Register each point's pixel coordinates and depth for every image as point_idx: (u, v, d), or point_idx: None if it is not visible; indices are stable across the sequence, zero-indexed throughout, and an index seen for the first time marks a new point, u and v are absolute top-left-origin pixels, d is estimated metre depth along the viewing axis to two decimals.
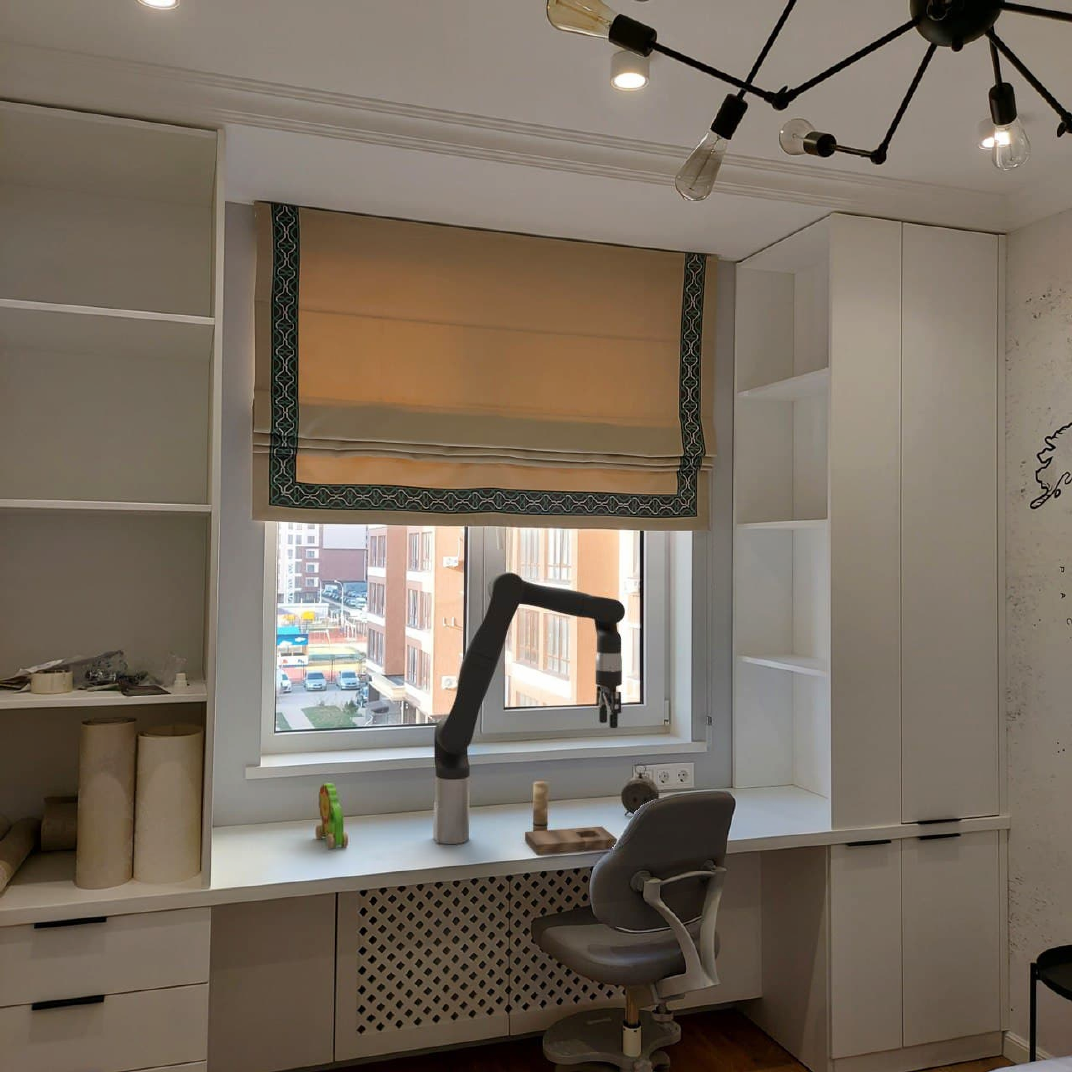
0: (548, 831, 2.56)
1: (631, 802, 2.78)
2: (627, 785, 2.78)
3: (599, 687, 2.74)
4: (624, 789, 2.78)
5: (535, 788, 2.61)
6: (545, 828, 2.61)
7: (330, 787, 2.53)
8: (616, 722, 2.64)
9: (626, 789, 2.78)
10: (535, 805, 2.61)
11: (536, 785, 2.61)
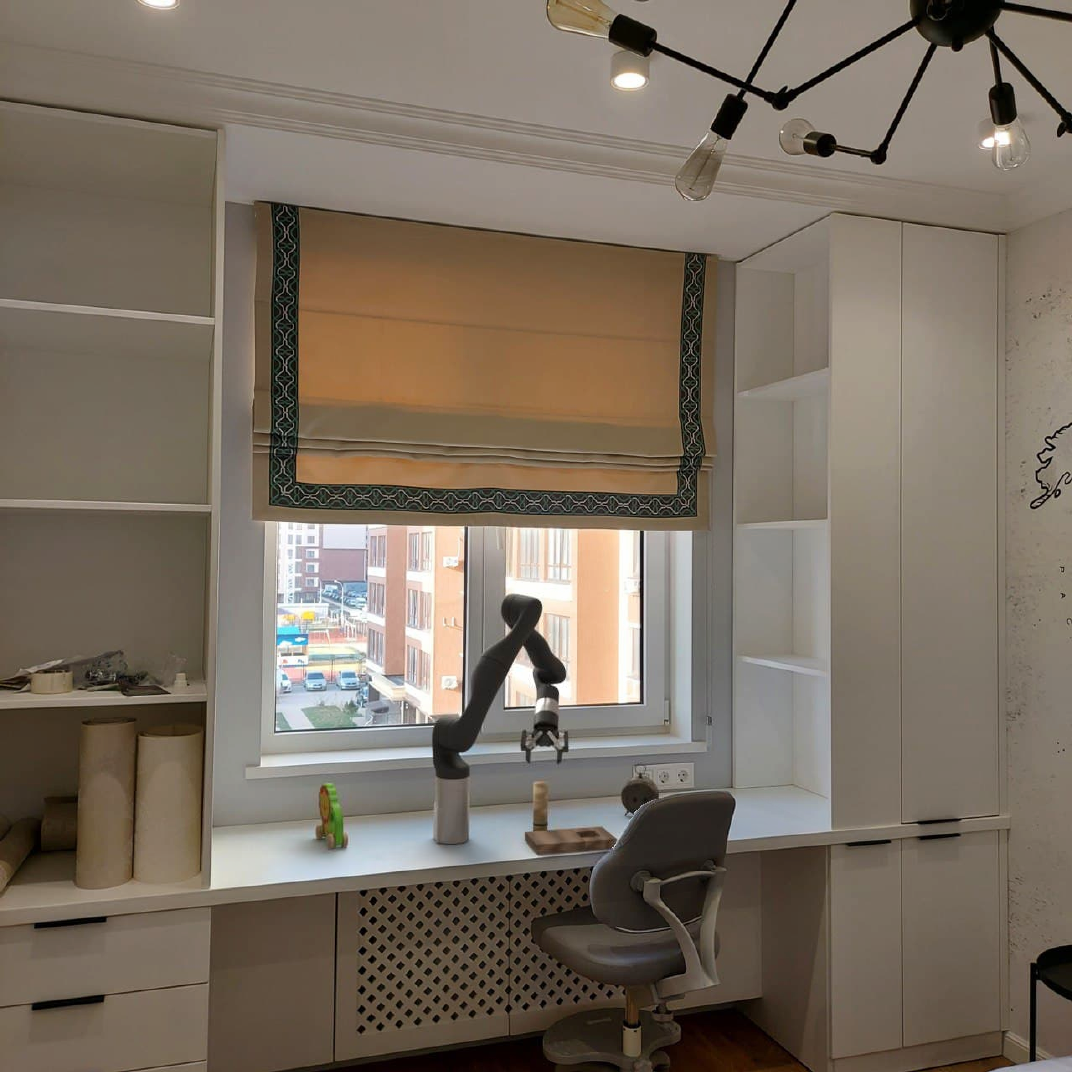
0: (548, 831, 2.56)
1: (631, 802, 2.78)
2: (627, 785, 2.78)
3: None
4: (624, 789, 2.78)
5: (535, 788, 2.61)
6: (545, 828, 2.61)
7: (330, 787, 2.53)
8: None
9: (626, 789, 2.78)
10: (535, 805, 2.61)
11: (536, 785, 2.61)
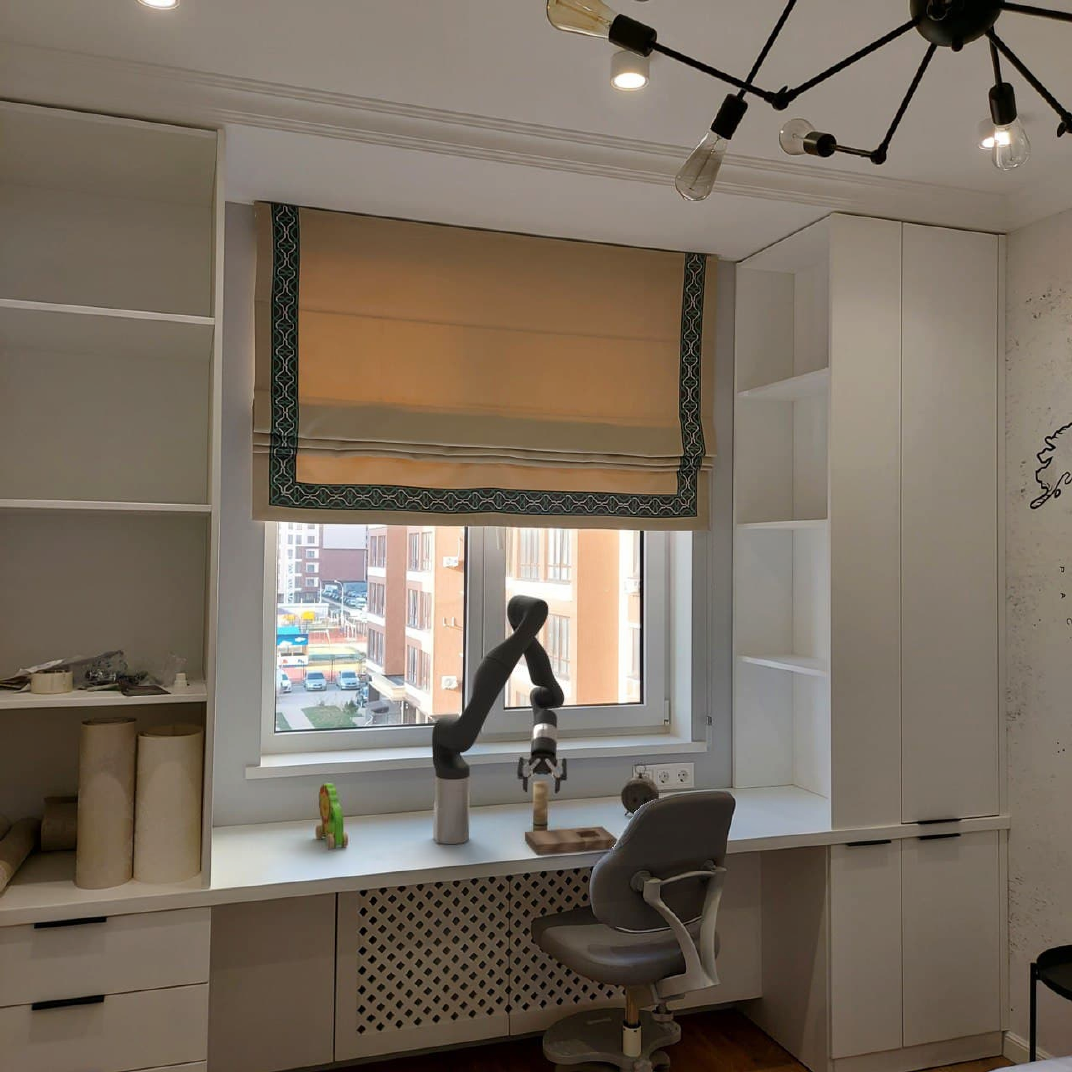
0: (548, 831, 2.56)
1: (631, 802, 2.78)
2: (627, 785, 2.78)
3: None
4: (624, 789, 2.78)
5: (535, 788, 2.61)
6: (545, 828, 2.61)
7: (330, 787, 2.53)
8: None
9: (626, 789, 2.78)
10: (535, 805, 2.61)
11: (536, 785, 2.61)
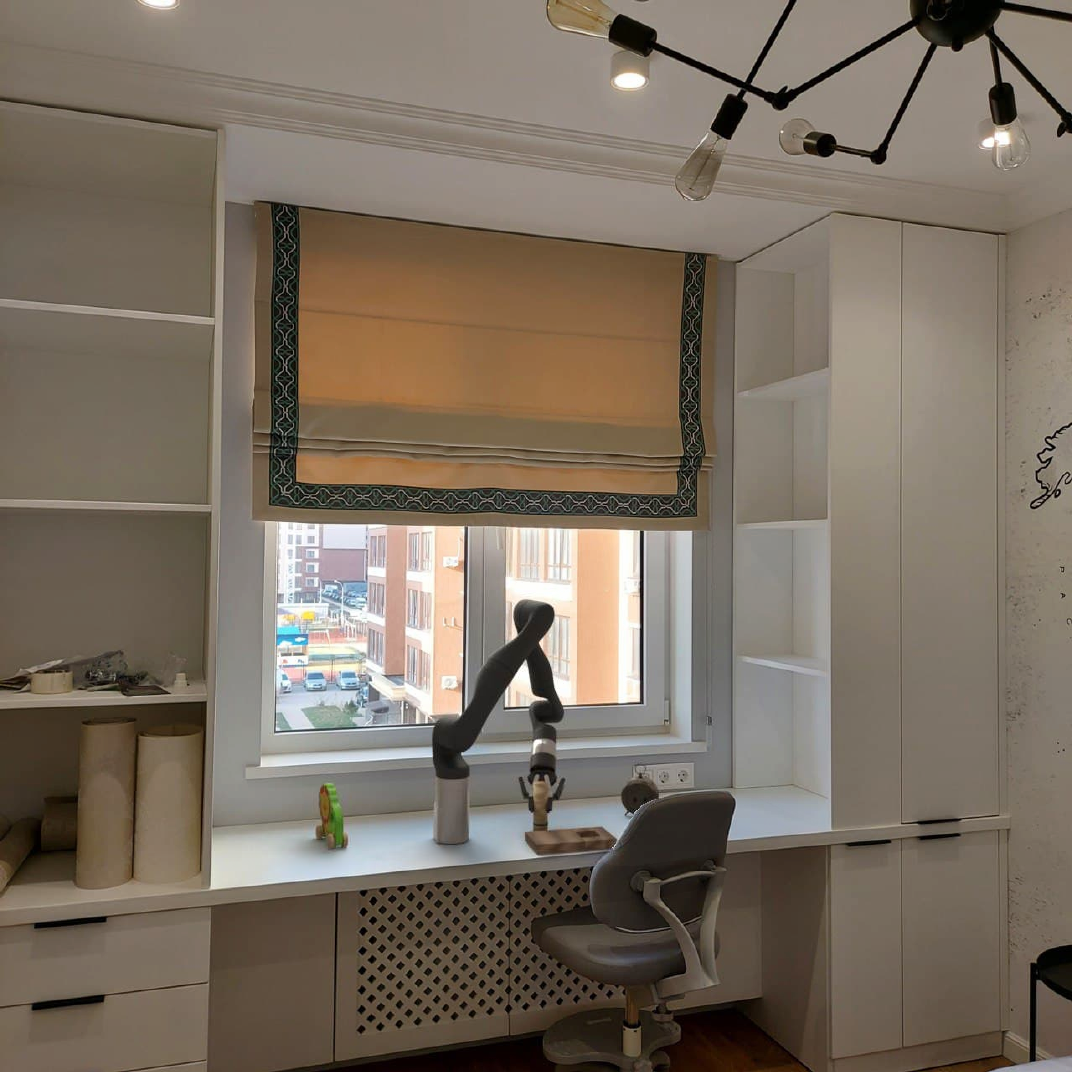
0: (548, 831, 2.56)
1: (631, 802, 2.78)
2: (627, 785, 2.78)
3: None
4: (624, 789, 2.78)
5: (535, 788, 2.61)
6: (545, 828, 2.61)
7: (330, 787, 2.53)
8: None
9: (626, 789, 2.78)
10: (535, 805, 2.61)
11: (536, 785, 2.61)
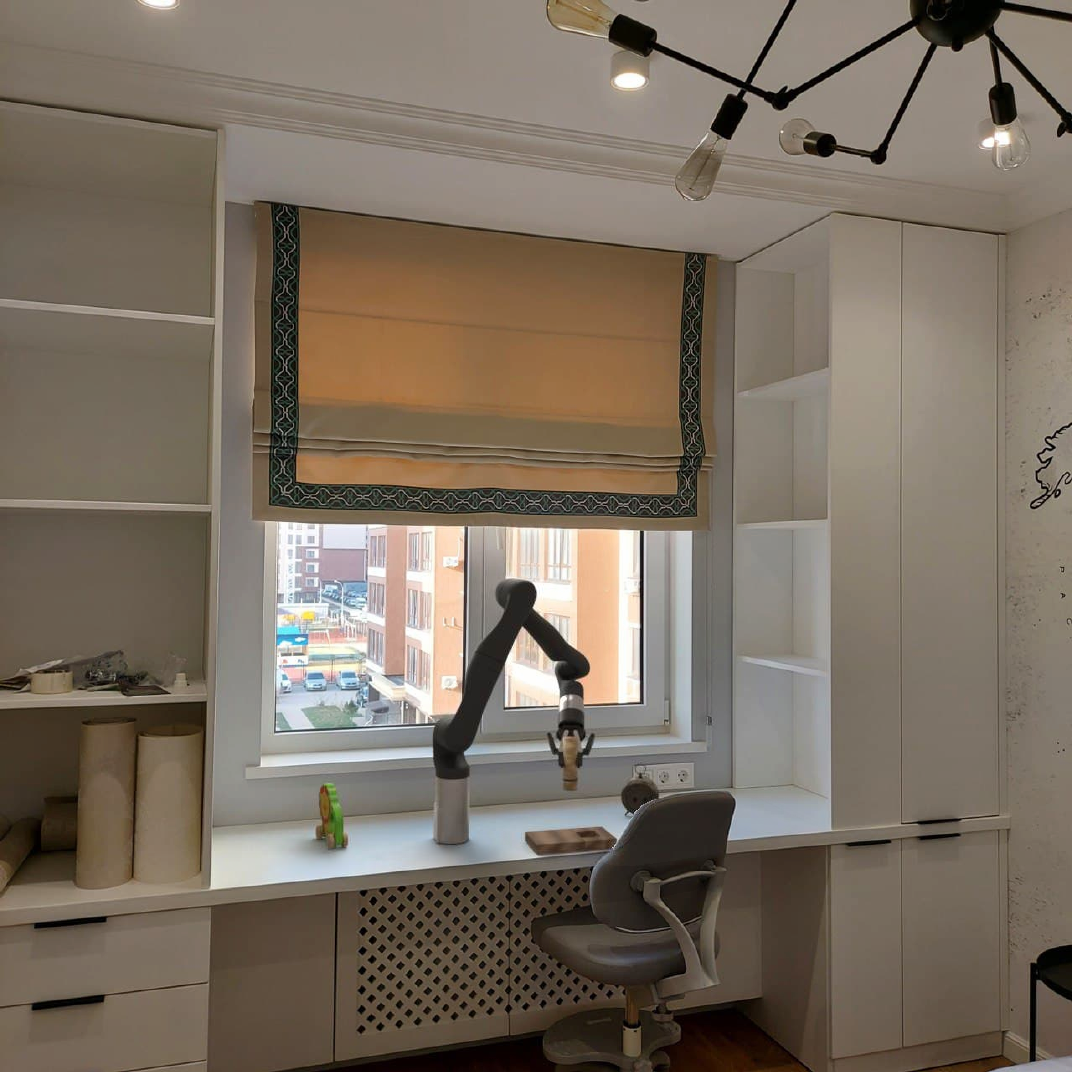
0: (548, 831, 2.56)
1: (631, 802, 2.78)
2: (627, 785, 2.78)
3: None
4: (624, 789, 2.78)
5: (565, 743, 2.57)
6: (575, 783, 2.57)
7: (330, 787, 2.53)
8: (582, 762, 2.57)
9: (626, 789, 2.78)
10: (565, 760, 2.57)
11: (566, 740, 2.57)
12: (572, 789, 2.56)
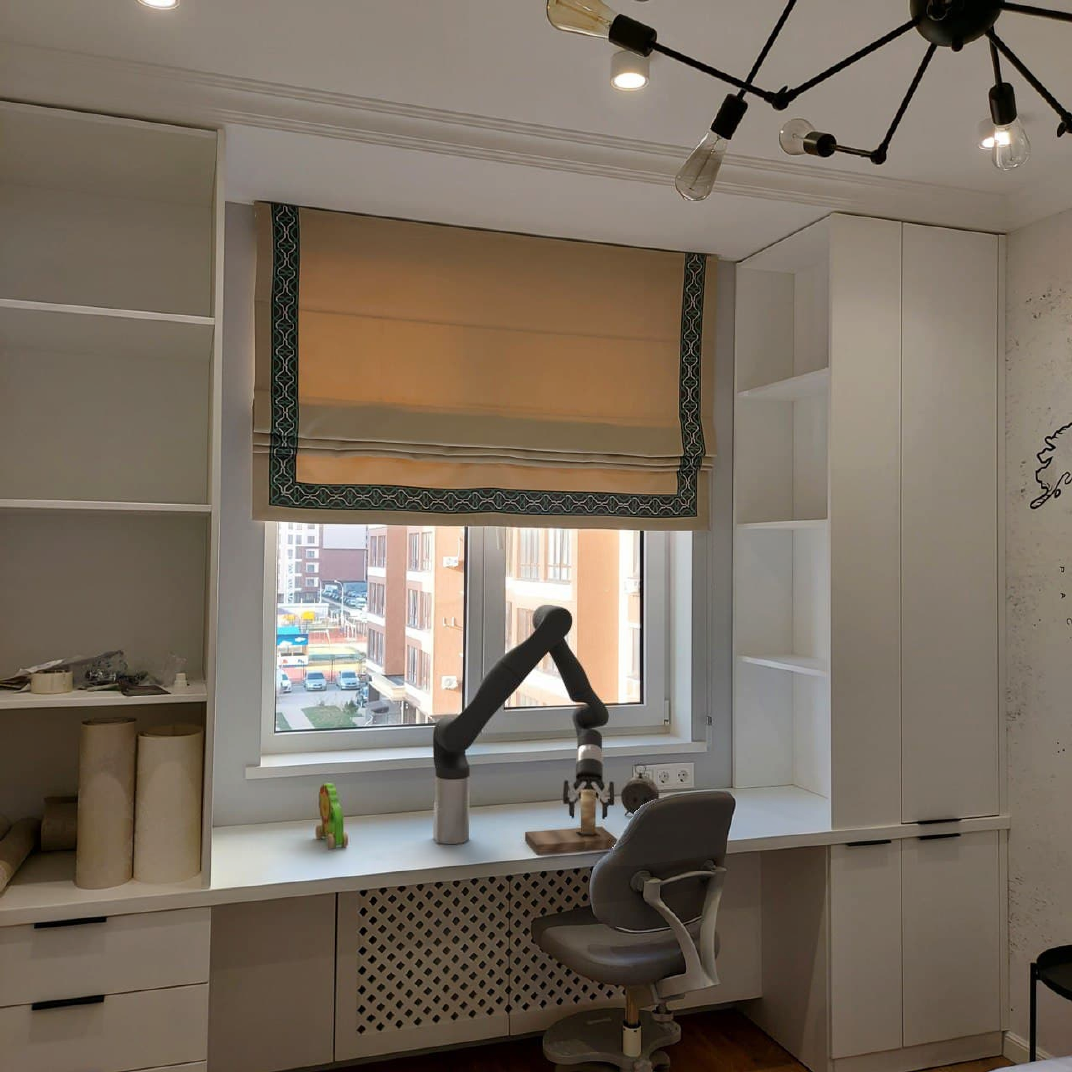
0: (548, 831, 2.56)
1: (631, 802, 2.78)
2: (627, 785, 2.78)
3: None
4: (624, 789, 2.78)
5: (583, 796, 2.53)
6: None
7: (330, 787, 2.53)
8: None
9: (626, 789, 2.78)
10: (583, 814, 2.52)
11: (584, 793, 2.52)
12: None
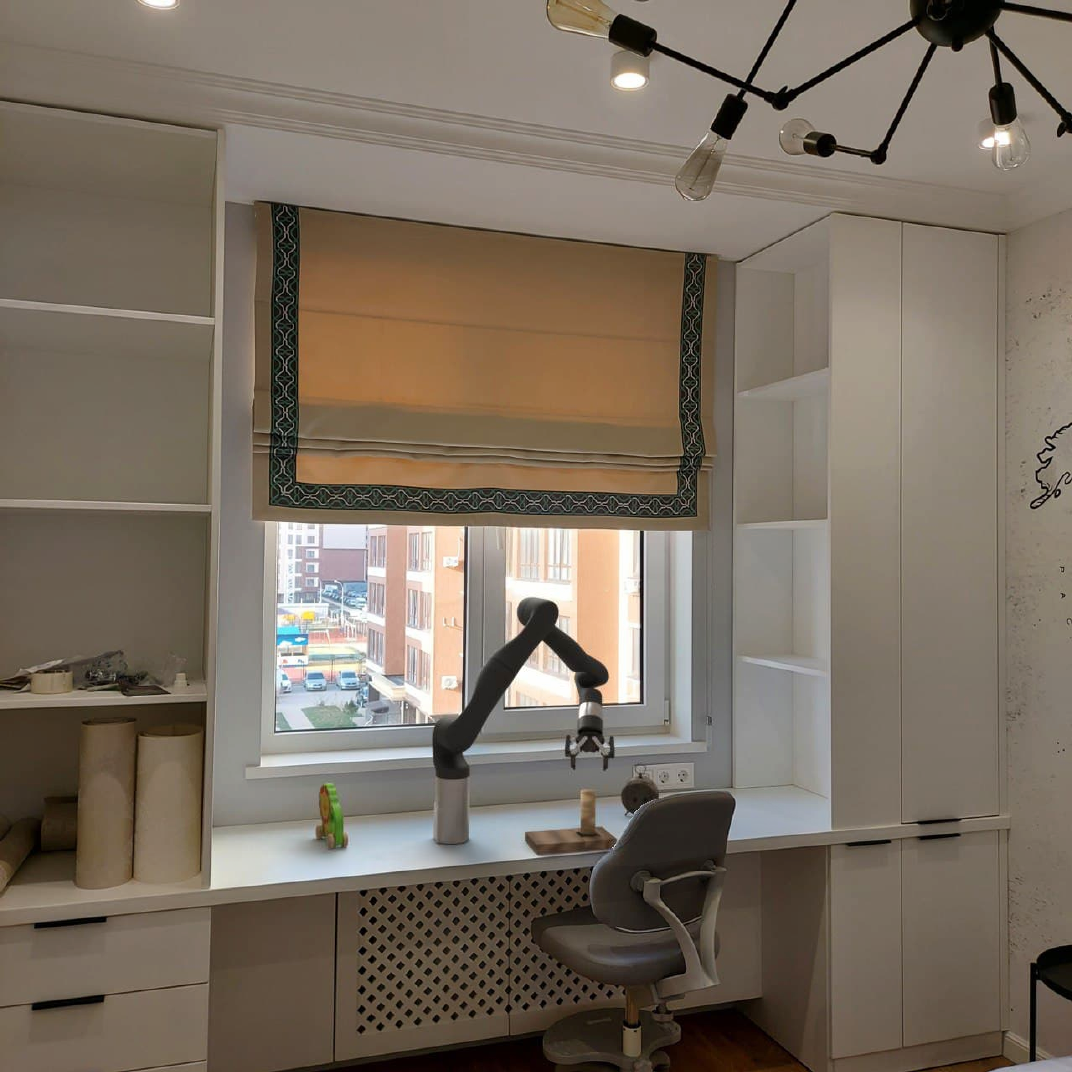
0: (548, 831, 2.56)
1: (631, 802, 2.78)
2: (627, 785, 2.78)
3: None
4: (624, 789, 2.78)
5: (583, 796, 2.53)
6: None
7: (330, 787, 2.53)
8: None
9: (626, 789, 2.78)
10: (583, 814, 2.52)
11: (584, 793, 2.52)
12: None
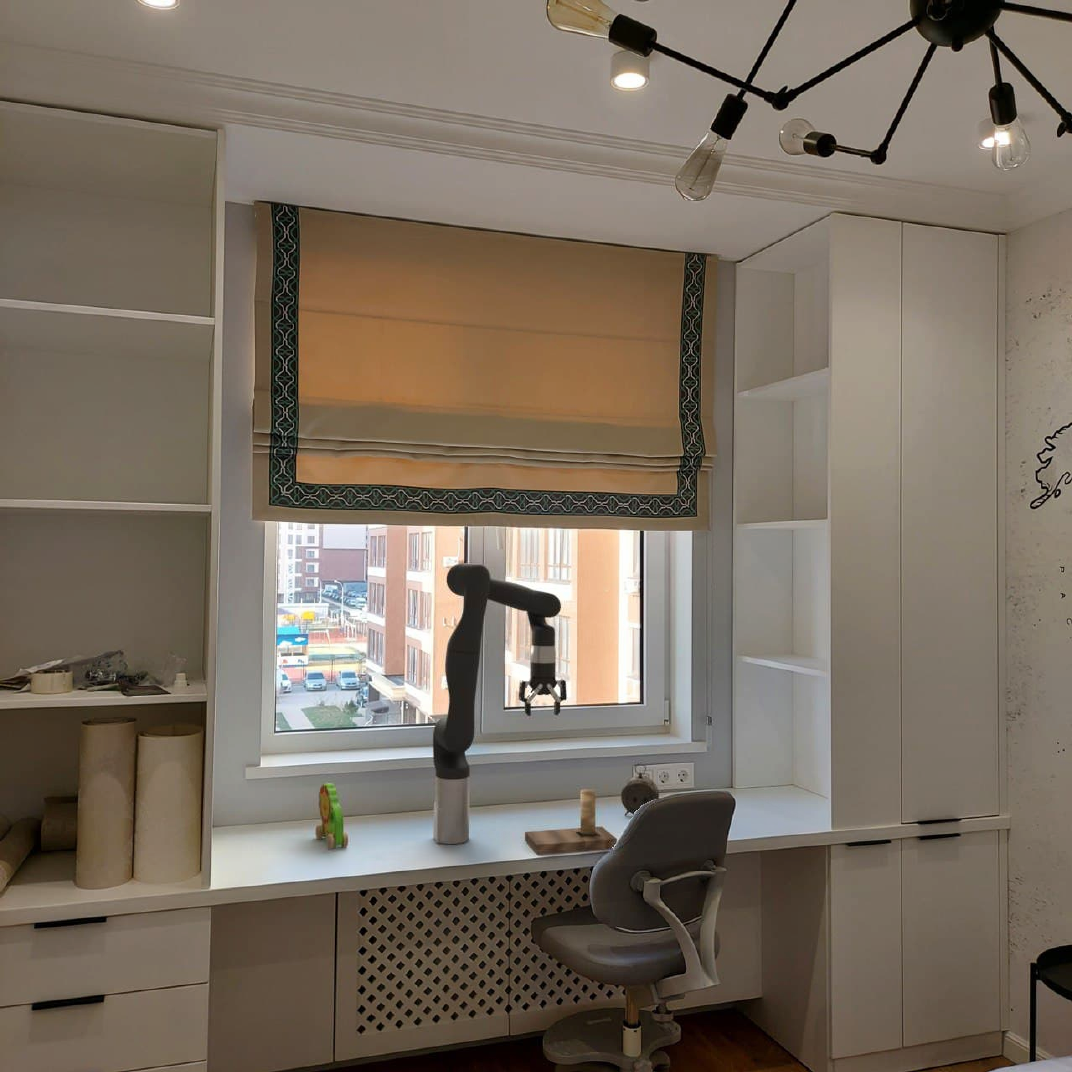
0: (548, 831, 2.56)
1: (631, 802, 2.78)
2: (627, 785, 2.78)
3: None
4: (624, 789, 2.78)
5: (583, 796, 2.53)
6: None
7: (330, 787, 2.53)
8: None
9: (626, 789, 2.78)
10: (583, 814, 2.52)
11: (584, 793, 2.52)
12: None
